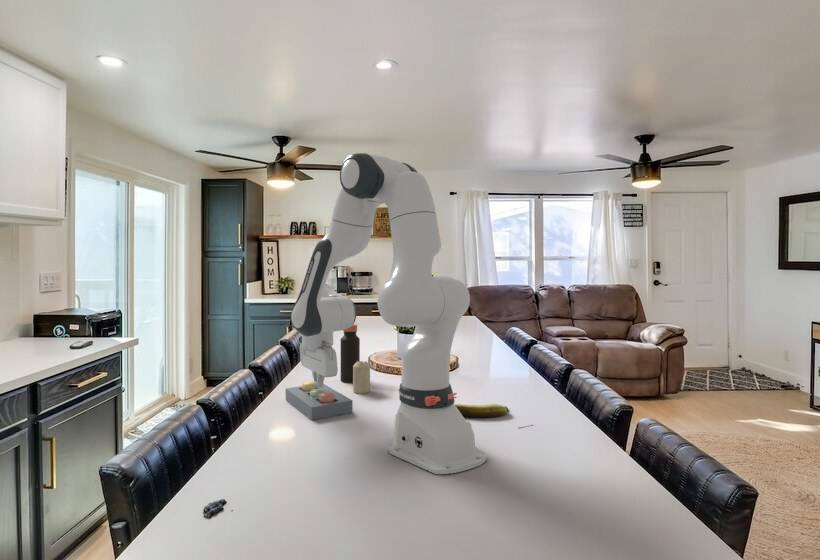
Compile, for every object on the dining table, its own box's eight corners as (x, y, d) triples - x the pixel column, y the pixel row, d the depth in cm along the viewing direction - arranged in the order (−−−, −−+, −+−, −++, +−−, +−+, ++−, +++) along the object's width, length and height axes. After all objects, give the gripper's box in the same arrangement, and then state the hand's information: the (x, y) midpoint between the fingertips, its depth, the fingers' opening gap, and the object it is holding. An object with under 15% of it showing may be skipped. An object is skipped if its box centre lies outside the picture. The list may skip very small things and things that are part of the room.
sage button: (327, 401, 135) (327, 391, 135) (313, 404, 133) (313, 393, 133) (321, 398, 139) (321, 388, 139) (308, 400, 136) (308, 390, 136)
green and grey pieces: (423, 435, 115) (423, 420, 114) (414, 402, 142) (415, 390, 142) (561, 433, 117) (561, 418, 117) (526, 400, 144) (527, 388, 144)
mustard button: (318, 393, 141) (318, 383, 141) (304, 395, 139) (304, 385, 139) (313, 390, 144) (312, 380, 144) (300, 392, 142) (299, 382, 142)
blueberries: (244, 503, 82) (244, 492, 82) (227, 525, 74) (227, 513, 74) (206, 503, 82) (206, 492, 82) (185, 525, 74) (185, 513, 74)
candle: (371, 389, 154) (371, 359, 154) (368, 394, 148) (368, 363, 148) (355, 388, 154) (355, 359, 154) (351, 393, 149) (351, 362, 149)
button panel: (352, 412, 130) (352, 400, 130) (311, 420, 123) (311, 407, 123) (322, 393, 148) (322, 383, 148) (285, 399, 142) (285, 388, 142)
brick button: (336, 405, 129) (336, 394, 129) (322, 407, 127) (322, 397, 127) (330, 401, 133) (330, 391, 133) (317, 403, 130) (316, 393, 130)
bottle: (338, 379, 167) (338, 324, 167) (356, 377, 170) (356, 323, 169) (343, 383, 161) (343, 326, 160) (362, 381, 164) (362, 325, 163)
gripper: (342, 343, 128) (343, 392, 128) (315, 334, 145) (316, 378, 145) (321, 345, 124) (322, 396, 125) (296, 336, 142) (296, 381, 142)
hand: (318, 386), depth 135 cm, fingers closed
